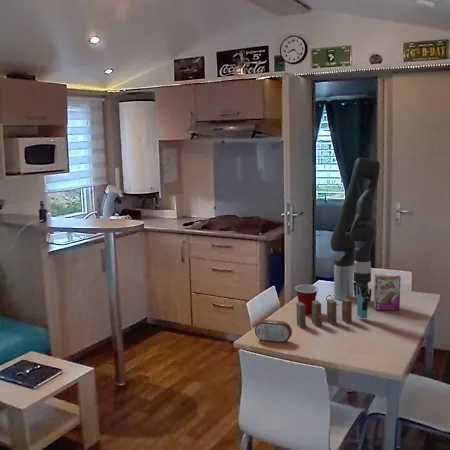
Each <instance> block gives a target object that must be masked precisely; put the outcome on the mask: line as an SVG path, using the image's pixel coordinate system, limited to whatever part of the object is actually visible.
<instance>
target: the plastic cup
mask: <svg viewBox="0 0 450 450" xmlns="http://www.w3.org/2000/svg"><path fill="white" fill-rule="evenodd" d="M294 288H295V291H296V295H297V302H302V303H304V304H305V308H306V315H310V314H311V315H312V301H316V298H317V294H318V292H319V287H318V286H316V285H314V284H299V285H296V286H295V287H294Z"/></svg>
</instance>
